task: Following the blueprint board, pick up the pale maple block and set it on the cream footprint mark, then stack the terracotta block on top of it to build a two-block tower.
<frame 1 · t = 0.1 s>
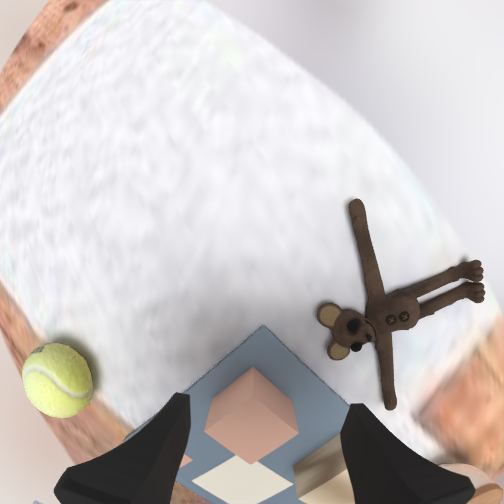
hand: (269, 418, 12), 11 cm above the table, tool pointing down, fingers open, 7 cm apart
tennis ball: (74, 367, 23), on the table
terracotta block: (252, 400, 22), point 1 cm above the table, touching blueprint board
lidded bowl: (427, 483, 24), on the table
blueprint board: (273, 462, 24), on the table
maple block: (333, 462, 23), point 1 cm above the table, touching blueprint board
bear figurine: (400, 301, 23), on the table
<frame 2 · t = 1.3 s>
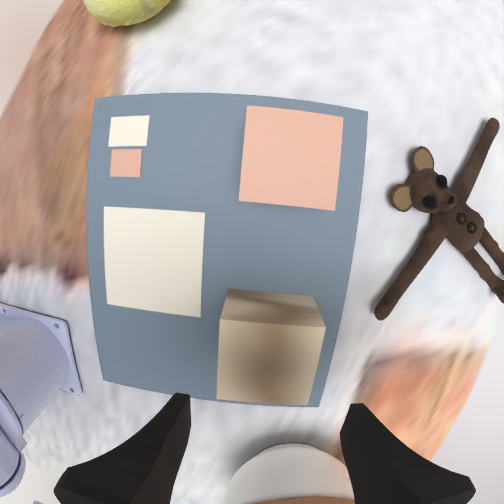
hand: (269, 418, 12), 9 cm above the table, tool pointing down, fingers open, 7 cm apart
tennis ball: (144, 4, 16), on the table
terracotta block: (284, 161, 18), point 1 cm above the table, touching blueprint board
lidded bowl: (288, 462, 25), on the table
blueprint board: (211, 265, 20), on the table
maple block: (266, 329, 21), point 1 cm above the table, touching blueprint board
bear figurine: (457, 229, 20), on the table
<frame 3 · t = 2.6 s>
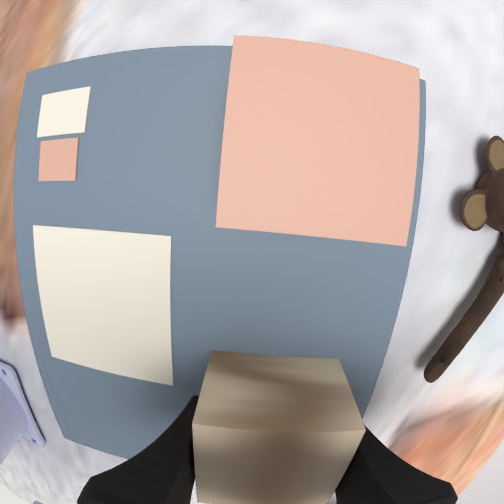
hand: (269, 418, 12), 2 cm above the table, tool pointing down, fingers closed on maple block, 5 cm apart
terracotta block: (301, 151, 11), point 1 cm above the table, touching blueprint board
blueprint board: (185, 314, 13), on the table
maple block: (269, 402, 13), point 1 cm above the table, touching blueprint board, gripper
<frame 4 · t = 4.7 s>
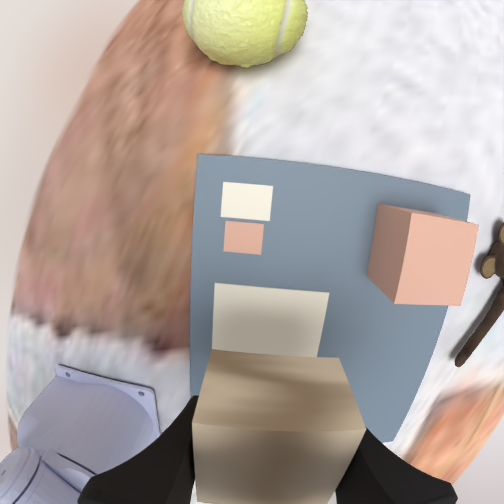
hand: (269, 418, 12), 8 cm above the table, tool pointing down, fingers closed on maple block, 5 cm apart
tennis ball: (247, 35, 16), on the table
terracotta block: (404, 243, 18), point 1 cm above the table, touching blueprint board
blueprint board: (325, 337, 20), on the table
maple block: (269, 402, 13), point 7 cm above the table, touching gripper
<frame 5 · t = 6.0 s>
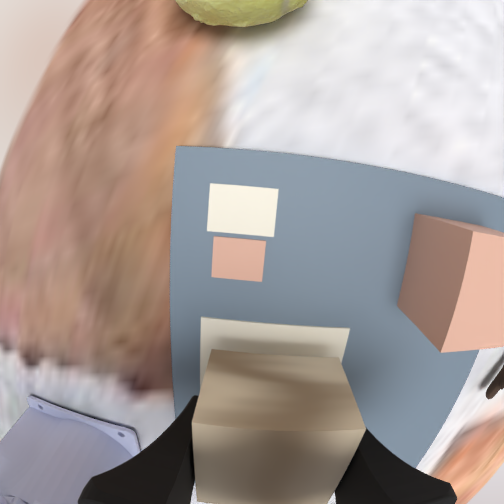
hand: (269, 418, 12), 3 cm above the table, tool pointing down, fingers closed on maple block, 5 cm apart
terracotta block: (443, 264, 13), point 1 cm above the table, touching blueprint board
blueprint board: (341, 378, 15), on the table
maple block: (269, 401, 13), point 2 cm above the table, touching gripper
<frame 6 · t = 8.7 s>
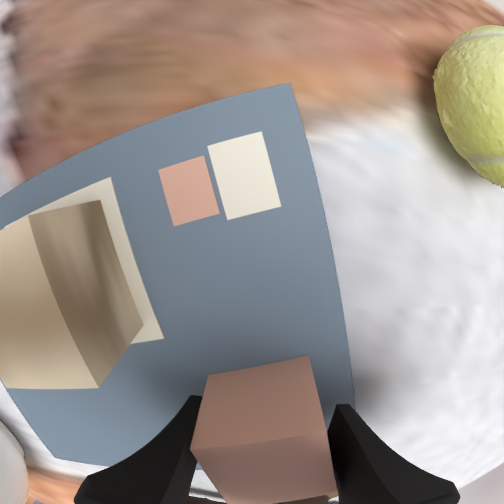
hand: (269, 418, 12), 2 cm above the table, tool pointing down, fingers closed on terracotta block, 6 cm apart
tennis ball: (465, 114, 11), on the table
terracotta block: (269, 402, 13), point 1 cm above the table, touching blueprint board, gripper
blueprint board: (110, 349, 13), on the table
maple block: (72, 278, 12), point 1 cm above the table, touching blueprint board
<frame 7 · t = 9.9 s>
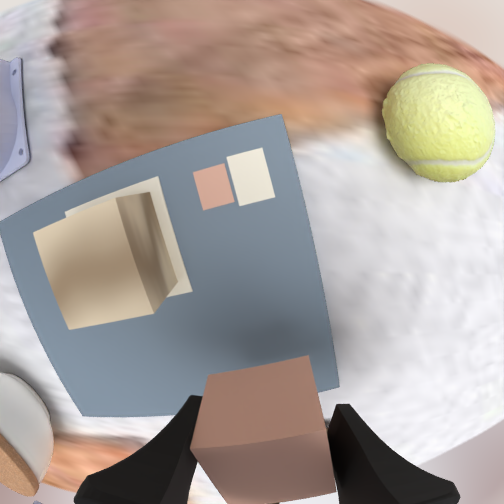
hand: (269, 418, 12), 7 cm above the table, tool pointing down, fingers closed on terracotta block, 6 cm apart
tennis ball: (414, 128, 16), on the table
terracotta block: (269, 402, 13), point 6 cm above the table, touching gripper
lidded bowl: (25, 399, 23), on the table
blueprint board: (147, 305, 19), on the table
maple block: (123, 249, 18), point 1 cm above the table, touching blueprint board
when the fingers open (7 cm above the table, at t = 12.1 s): terracotta block drops 1 cm, resting on maple block.
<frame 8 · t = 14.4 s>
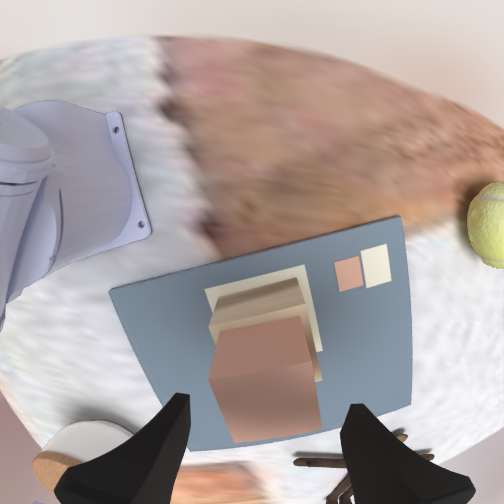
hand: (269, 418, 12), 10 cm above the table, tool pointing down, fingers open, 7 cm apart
tennis ball: (480, 218, 20), on the table
terracotta block: (267, 357, 17), point 5 cm above the table, touching maple block
lidded bowl: (116, 440, 27), on the table
blueprint board: (278, 361, 23), on the table
maple block: (267, 322, 22), point 1 cm above the table, touching blueprint board, terracotta block
bear figurine: (359, 465, 28), on the table
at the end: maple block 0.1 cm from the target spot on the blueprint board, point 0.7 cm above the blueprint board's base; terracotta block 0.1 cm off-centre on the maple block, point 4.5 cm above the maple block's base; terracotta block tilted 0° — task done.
